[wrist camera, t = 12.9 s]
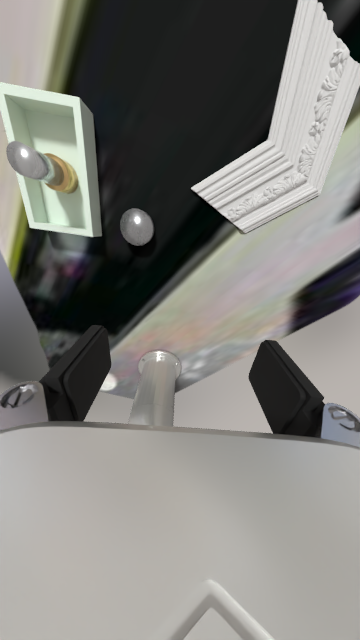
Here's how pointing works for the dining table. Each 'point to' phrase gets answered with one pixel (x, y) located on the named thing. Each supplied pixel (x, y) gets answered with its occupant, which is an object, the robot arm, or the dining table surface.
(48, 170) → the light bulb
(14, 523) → the robot arm
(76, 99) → the bin
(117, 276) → the dining table surface
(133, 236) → the silver metal dome
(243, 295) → the dining table surface
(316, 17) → the crown molding
